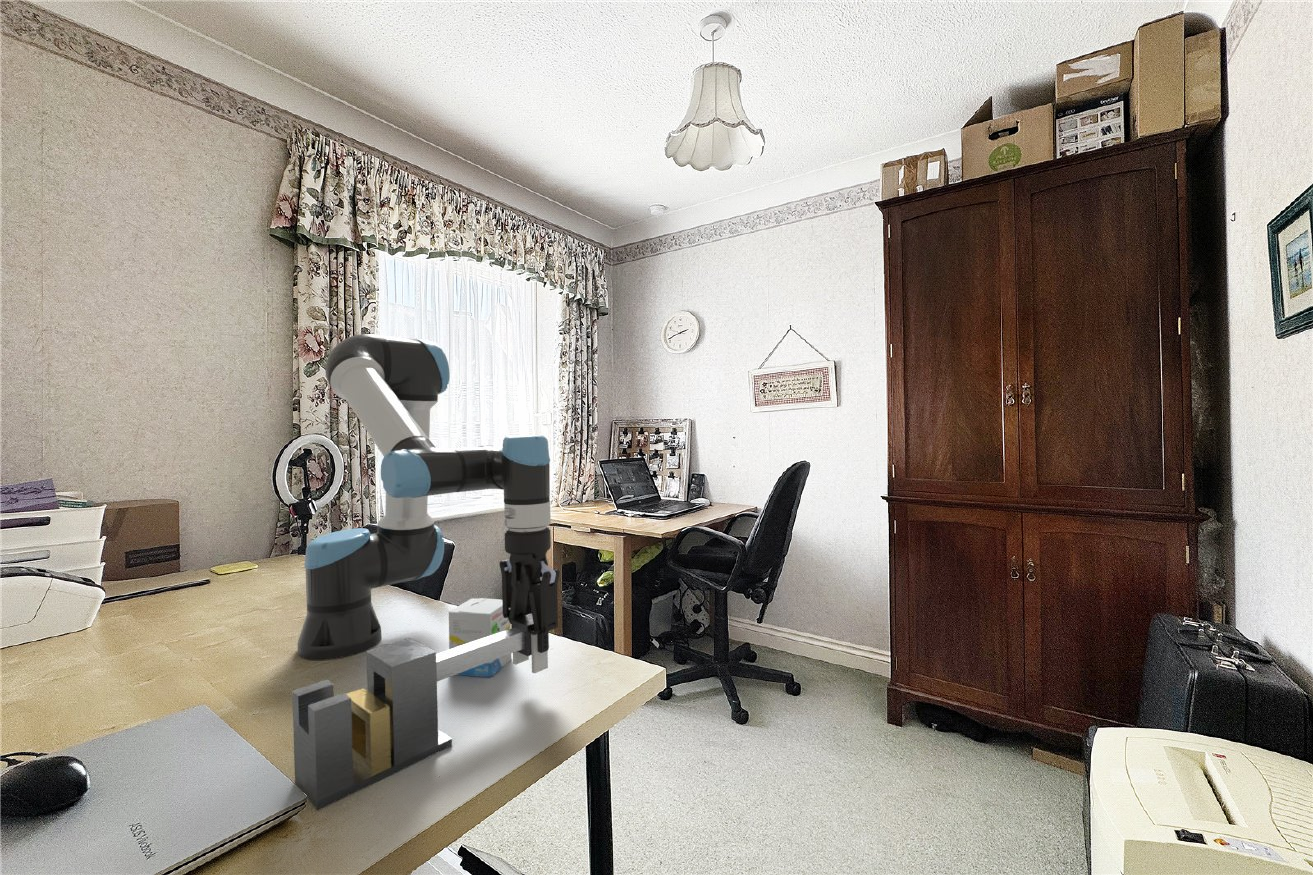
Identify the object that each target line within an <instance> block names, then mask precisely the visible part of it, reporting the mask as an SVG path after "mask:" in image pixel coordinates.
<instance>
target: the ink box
mask: <svg viewBox="0 0 1313 875" xmlns="http://www.w3.org/2000/svg"><path fill="white" fill-rule="evenodd" d="M509 610H510V608H509ZM508 629H511V624H510V622H509V619H508V618H504V617H503V604H502V599H499V598H498V599H497V598H485V597H482V598H473V597H472V598H469V599H468V600H467V601H465V602H463V603H461V604H459V605H458V606H456V607H454V608H453V609H451V610H449V611H448V650H449V649H452V648H455V647H458V646H461V645H464V644H467V643H470V642H473V641H476V640H479V639H482V638H485V637H488V636H491V635H494V634H497V633H500V632H503V631H505V630H508ZM511 660H512V653H511V654H509V655H506V656H503V657H501V658H498V659H495V660H493V661H490V662H487V663H485V664H482V665H480V666H477V667H474V668H472V669H469V670H466V671H464V672H461V673H458V674H456V675H458V676H466V677H467V676H469V677H470V676H471V677H481V678H484V677H485V678H492V677H493V676H494V675H495V674H496V673H498V671H499V670H501V669H502V668H503V667H504V666H505V665H506V664H508V662H510V661H511Z"/></svg>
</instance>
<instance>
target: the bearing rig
mask: <svg viewBox="0 0 1313 875" xmlns="http://www.w3.org/2000/svg"><path fill="white" fill-rule="evenodd" d="M365 651H366V652H365V653H366V654H365V655H366V683H367V684H366V687H367V689H366V690H367V691H368V692H369V693H371V694H372V695H374V696H375V697H377V698H378V699H380V700H381V701H383V702H384V703H385V704H387V705H388V706H389V713H390V751H391V767H390V768H388V769H386V770H384V771H382V772H380V773H378V774H376V775H374V776H371V775H369V774H368V773H367V772H366V771H365V770H364V769H363V768H362V767H361V766H360V765H359V764H357V763H356V762H355V761H354V760H353V749H352V713H351V698H350V697H349V696H348V695H346V694H347V693H346V692H342V693H340V694H337V695H335V696H334V683H332V681H330V680H329V679H325V680H321V681H319V682H315V683H313V684H308V685H305V686H303V687H300V688H296V689H294V690H292V692H291V694H292V723H293V724H292V726H293V727H292V728H293V729H292V730H293V756H294V757H293V758H294V759H293V760H294V762H293V764H294V783H295V784H296V786H297V787H298V788H299V789H300V790H302V791H301V792H302V793H303V792H304V793H305V794H306V795H307V797H306V798H307V799H308V801H309V802H310V804H312V805H313V807H314V809H315V810H316V811H320V810H321V809H324V808H325V807H328V806H330V805H332V804H334V803H336V802H338V801H340V800H342V799H344V798H346V797H349V796H351V795H352V794H355V793H356V792H358V791H361V790H363V789H365V788H367V787H369V786H371V785H373V784H375V783H378V782H379V781H382V780H384V779H385V778H388V777H390V776H392V775H394V774H396V773H399V772H400V771H402V770H404V769H407V768H408V767H410V766H414V765H415V764H416V763H418V762H421V761H423V760H425V759H427V758H430V757H431V756H434V755H436V754H438V753H440V752H443V750H446V749H448V748H450V747H452V746H453V739H452V737H451V736H448V735H447V734H446V733H444V732H443V731H442V730H440V729H439V721H438V720H439V719H438V718H439V717H438V716H439V714H438V713H439V712H438V681H437V666H436V654H437V651H436V650H434V649H431V648H429V647H428V646H425V645H424V644H422V643H420V642H418V641H416V640H413V639H412V638H411V637H408V638H405V639H401V640H398V641H395V642H392V643H388V644H385V645H381V646H379V647H375V648H374V647H373V648H370V649H367V650H365ZM304 793H303V794H304ZM305 794H304V795H305Z"/></svg>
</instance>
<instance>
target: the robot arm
mask: <svg viewBox="0 0 1313 875" xmlns="http://www.w3.org/2000/svg"><path fill="white" fill-rule="evenodd" d="M324 368H325V370H324V371H325V376H326V381H327V383H328V385H329V386H330V388H331V389H332V391H333V393H334V394H335V396H337V397H338V398H340V399H342V400H345V401H346V402H347V403H348V405H349V406H350V408H351V409H352V411H353V412H354V413H355V415H356V417H357V418H358V420H359V421H360V423H361V424H362V426H363V427H364V429H365V430H366V432H367V433H368V435H369V436H370V438H371V439H372V441H373V442H374V445H376V447H377V448H378V450H379V452H380V453H381V454H382V457H383V458H382V461H381V464H380V479H381V481H382V487H383V489H384V491H385V512H384V513H385V514H384V516H382V517H381V518H380V519H379V520H378V522H377V531H376V532H374V533H371V532H370V531H369V529H367V528H363V527H357V528H356V527H355V528H350V529H341V530H338V531H337V530H336V531H333V532H329V533H326V534H323V535H320V536H318V537H316V538H314V539H313V540H311V541H310V542H309V543H308V544H307V546H306V548H305V559H304V564H303V565H304V569H305V588H306V589H305V590H306V591H305V593H306V595H305V596H306V616H305V619H304V621H303V623H302V624H303V625H302V628H301V630H300V635H299V636H298V641H297V655H298V656H299V658H302V659H305V660H313V661H317V660H318V661H321V660H322V661H323V660H332V659H333V660H334V659H340V658H345V657H349V656H352V655H356V654H359V653H363V652H365V651H368V650H371V649H373V648H374V647H375V646H376V645H378V644H379V643H380V642H381V640H382V638H383V637H382V626H381V622H379V619H378V616H377V614H376V612H375V609H374V607H373V604H372V589H376V588H382V587H386V586H391V585H395V584H400V583H405V582H409V581H418V580H420V579H421V578H424V577H429V576H431V575H433V574H434V573H435V572H436V571H437V570H438V569H439V568H440V566H441V564H442V561H443V558H444V554H445V541H444V539H443V532H442V530H441V529H440V527H438V526H437V525H435V520H434V519H433V518H432V516H431V515H429V513H428V498H429V496H438V495H445V494H453V493H465V492H474V491H482V490H503V503H504V504H503V506H504V507H503V508H504V512H503V513H504V514H503V515H504V527H506V528H507V529H506V530H505V531H504V534H503V535H504V551H505V553H507V554H509V555H510V556H509V558H508V559H505V560H504V559H503V560H500V561H499V569H500V573H501V574H500V575H501V596H502V598H501V600H502V604H503V617H504V618H508V619H509V622H510V624H511V620H512V619H515V618H518V617H522V616H525V615H526V612H527V605H528V596H529V604H530V611H531V614H532V618H533V624H534V631H531V654H532V655H531V673H532V674H536V673H537V674H538V673H539V672H542V671H544V670H547V669H549V660H548V659H549V657H548V656H549V654H548V653H549V652H548V651H549V648H550V642H549V641H550V640H549V638H550V633H549V632H550V631H552V630H555V629H558V627H559V622H558V621H559V620H558V618H559V617H558V615H559V614H558V610H559V609H558V606H559V605H558V582H559V579H560V578H559V577H560V571H559V569H558V568H556V569H552V568H551V567H550V566H549V562H548V559H547V555H546V554H547V553H548V551H549V550H550V549H551V545H552V542H551V541H552V539H551V538H552V537H551V534H552V533H551V532H552V531H551V529H550V527H548V526H550V525H551V523H552V521H551V520H552V517H551V499H550V498H551V497H550V495H551V494H550V492H551V490H550V489H551V488H550V487H551V486H550V485H551V484H550V480H551V479H550V475H551V474H550V471H551V470H550V467H551V466H550V465H551V464H550V462H551V458H550V451H549V449H550V448H549V441H548V439H547V438H546V437H545V436H544V435H508V436H507V435H506V436H505V437H503V440H502V446H493V445H478V446H476V447H475V446H474V447H453V448H451V447H450V448H448V447H447V448H437V447H436V446H435V444H433V442H432V441H431V440H430V430H431V429H430V426H431V409H432V408H433V407H434V406H435V405H436V404H437V403H438V401H439V395H440V394H442V393H444V392H445V391H446V390H447V389H448V385H449V384H450V383H449V382H450V377H451V376H450V374H451V372H450V367H449V361H448V358H447V356H446V353H445V352H444V350H443V348H441V346H440V345H439V344H437V343H436V342H433V341H431V340H424V339H420V338H419V339H418V338H409V337H397V336H387V335H386V336H385V335H379V334H377V335H376V334H370V333H364V334H356V335H352V336H349V337H346V338H345V339H343V340H342V341H340V342H338V344H336V345H335V346H334V348H333V349H331V351H330V352H329V354H328V356H327V359H326V362H325V367H324ZM509 608H510V610H509ZM529 660H530V656H526V655H524V654H521V653H519V652H514V653H512V664H513V665H519V664H521V663H524V662H526V661H529Z"/></svg>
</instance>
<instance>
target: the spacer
mask: <svg viewBox="0 0 1313 875" xmlns="http://www.w3.org/2000/svg"><path fill="white" fill-rule="evenodd" d="M345 694H346V695H348V696H349V697H350V698H351V713H352V749H353V760H354V761H355V762H356V763H357V764H359V765H360V766H361V767H362V768H363V769H364V770H365V771H366V772H367V773H368V774H369V775H371V776H374V775H376V774H378V773H380V772H382V771H384V770H386V769H388V768H390V767H391V751H390V713H389V706H388V705H387V704H385V703H384V702H383V701H381V700H380V699H378V698H377V697H375V696H374V695H372V694H371V693H369V692H368V691H367V689H365V688H364V687H362V688H359V689H356V690H354V691H350V692H348V693H345Z"/></svg>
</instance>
